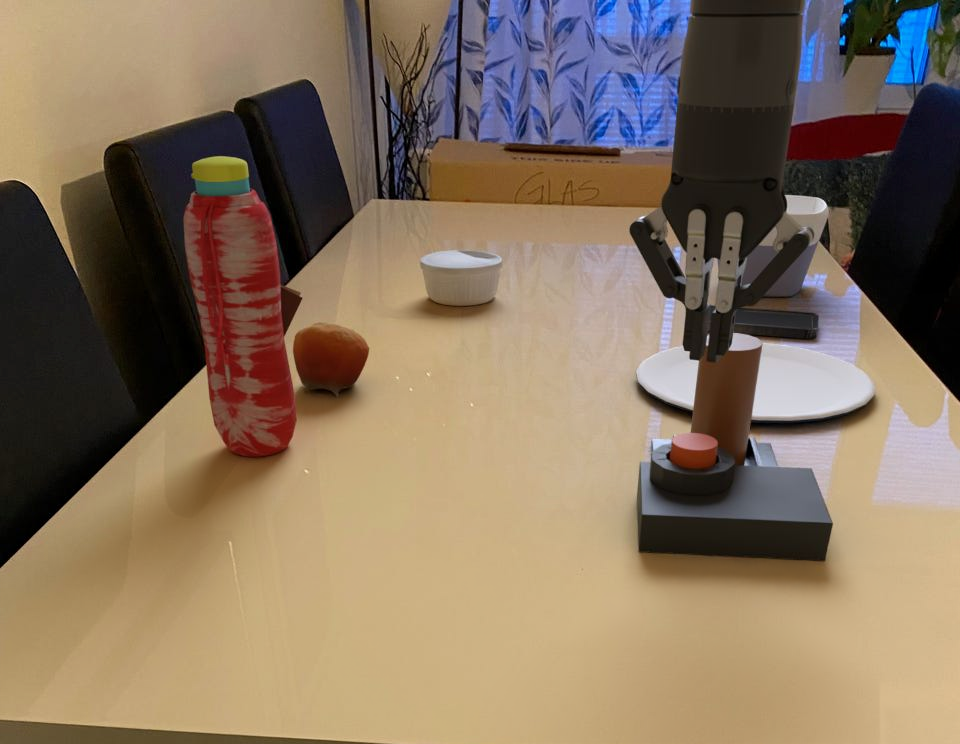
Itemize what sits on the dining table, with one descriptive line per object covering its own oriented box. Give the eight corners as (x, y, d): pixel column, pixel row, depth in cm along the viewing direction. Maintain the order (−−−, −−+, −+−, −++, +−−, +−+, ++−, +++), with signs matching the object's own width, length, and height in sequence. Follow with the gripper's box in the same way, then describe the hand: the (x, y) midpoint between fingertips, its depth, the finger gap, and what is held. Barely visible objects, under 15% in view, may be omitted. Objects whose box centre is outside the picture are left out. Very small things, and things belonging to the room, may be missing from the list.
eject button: (668, 452, 81) (670, 431, 80) (713, 453, 80) (716, 433, 79) (670, 470, 78) (672, 449, 77) (717, 472, 77) (719, 451, 76)
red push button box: (636, 494, 85) (641, 439, 82) (804, 502, 83) (815, 446, 80) (638, 552, 76) (643, 492, 73) (825, 561, 75) (838, 500, 72)
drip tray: (651, 444, 94) (652, 426, 93) (769, 448, 93) (772, 430, 92) (654, 494, 85) (656, 474, 84) (785, 499, 83) (789, 480, 82)
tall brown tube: (712, 448, 91) (727, 329, 85) (755, 465, 88) (775, 342, 82) (675, 462, 89) (688, 340, 83) (718, 480, 85) (735, 354, 79)
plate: (615, 354, 116) (616, 343, 116) (823, 347, 118) (825, 337, 117) (663, 434, 96) (664, 422, 95) (914, 425, 97) (917, 413, 96)
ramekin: (514, 292, 140) (515, 253, 137) (481, 312, 132) (481, 271, 129) (444, 284, 144) (443, 246, 141) (407, 303, 136) (405, 263, 133)
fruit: (275, 389, 103) (283, 311, 103) (304, 404, 111) (311, 332, 110) (348, 394, 101) (356, 316, 101) (372, 410, 109) (380, 337, 109)
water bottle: (259, 414, 101) (222, 143, 87) (330, 423, 99) (303, 147, 85) (195, 459, 92) (142, 163, 78) (272, 470, 89) (231, 168, 76)
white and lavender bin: (699, 297, 137) (708, 211, 131) (711, 271, 149) (720, 191, 143) (814, 305, 133) (829, 216, 127) (817, 277, 145) (831, 195, 139)
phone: (817, 330, 119) (692, 320, 123) (816, 339, 120) (691, 329, 124) (819, 312, 126) (700, 304, 129) (817, 321, 126) (699, 312, 130)
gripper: (850, 94, 65) (805, 355, 75) (653, 88, 70) (634, 334, 79) (833, 105, 59) (786, 386, 69) (620, 98, 64) (604, 362, 74)
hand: (705, 357), depth 74 cm, fingers closed
